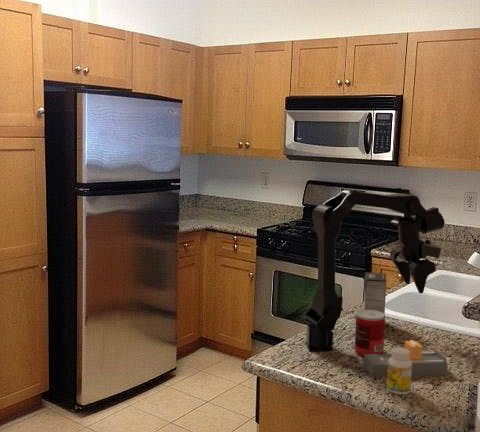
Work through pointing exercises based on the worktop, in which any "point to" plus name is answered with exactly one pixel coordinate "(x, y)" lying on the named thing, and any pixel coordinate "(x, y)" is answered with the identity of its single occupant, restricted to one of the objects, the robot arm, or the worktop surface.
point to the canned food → (369, 332)
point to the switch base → (426, 367)
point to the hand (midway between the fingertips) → (414, 288)
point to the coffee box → (375, 291)
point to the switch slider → (414, 350)
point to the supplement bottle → (399, 372)
